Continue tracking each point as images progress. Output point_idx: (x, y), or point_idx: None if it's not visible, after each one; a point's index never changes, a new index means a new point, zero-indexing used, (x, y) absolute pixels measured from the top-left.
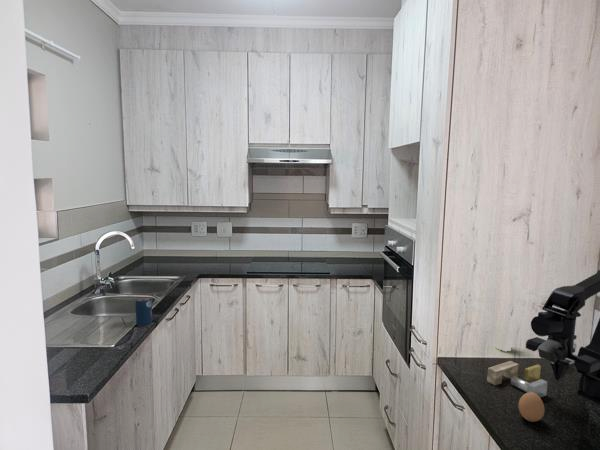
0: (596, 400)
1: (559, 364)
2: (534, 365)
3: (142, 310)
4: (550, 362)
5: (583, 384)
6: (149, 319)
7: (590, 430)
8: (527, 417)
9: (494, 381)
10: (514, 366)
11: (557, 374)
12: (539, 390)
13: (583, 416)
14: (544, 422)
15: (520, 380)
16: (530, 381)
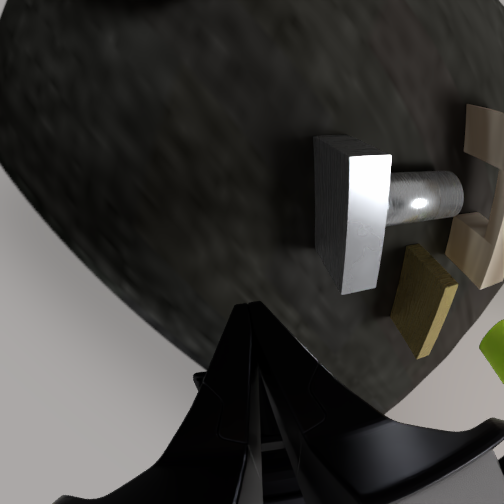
0: (198, 375)
1: (196, 497)
2: (435, 340)
3: None
4: (378, 424)
5: (260, 402)
6: None
7: (33, 190)
8: None
9: (481, 107)
10: (486, 261)
11: (250, 346)
12: (331, 206)
13: (121, 255)
14: (133, 16)
15: (434, 198)
16: (405, 271)
